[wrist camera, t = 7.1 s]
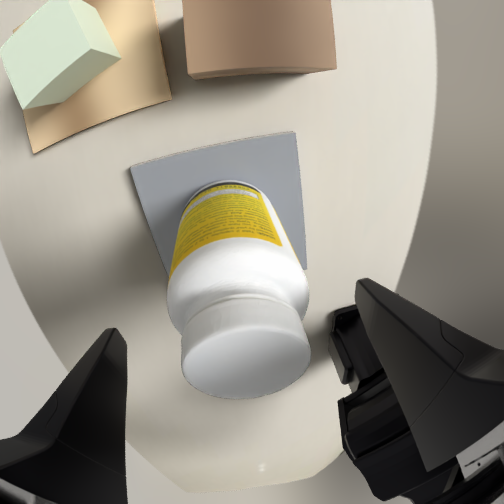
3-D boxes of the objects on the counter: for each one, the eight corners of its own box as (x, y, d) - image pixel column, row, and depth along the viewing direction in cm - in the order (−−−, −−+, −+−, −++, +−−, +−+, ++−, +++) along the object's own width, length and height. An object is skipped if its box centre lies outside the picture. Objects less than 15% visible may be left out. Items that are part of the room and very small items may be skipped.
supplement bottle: (161, 222, 15) (122, 367, 7) (232, 157, 14) (264, 263, 6) (225, 276, 18) (240, 419, 10) (292, 225, 17) (361, 357, 8)
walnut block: (301, 11, 10) (329, -10, 7) (306, 73, 13) (336, 69, 9) (189, 15, 10) (181, -10, 7) (194, 80, 12) (188, 73, 9)
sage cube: (95, 8, 8) (62, -11, 5) (121, 58, 10) (91, 48, 7) (40, 52, 9) (-2, 50, 5) (63, 102, 11) (22, 109, 7)
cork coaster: (149, -34, 8) (147, -38, 7) (172, 99, 12) (170, 99, 12) (18, 31, 7) (13, 30, 7) (38, 151, 12) (33, 153, 12)
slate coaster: (292, 131, 14) (295, 132, 14) (304, 264, 19) (307, 269, 19) (133, 165, 14) (130, 168, 13) (176, 290, 19) (176, 295, 18)
